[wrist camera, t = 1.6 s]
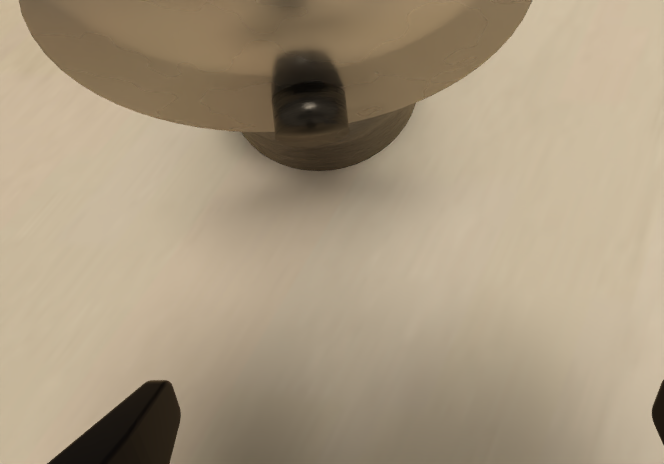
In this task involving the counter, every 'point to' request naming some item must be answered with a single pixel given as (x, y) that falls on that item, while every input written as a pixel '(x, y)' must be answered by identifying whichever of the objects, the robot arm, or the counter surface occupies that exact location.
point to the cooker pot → (336, 143)
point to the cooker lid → (270, 57)
